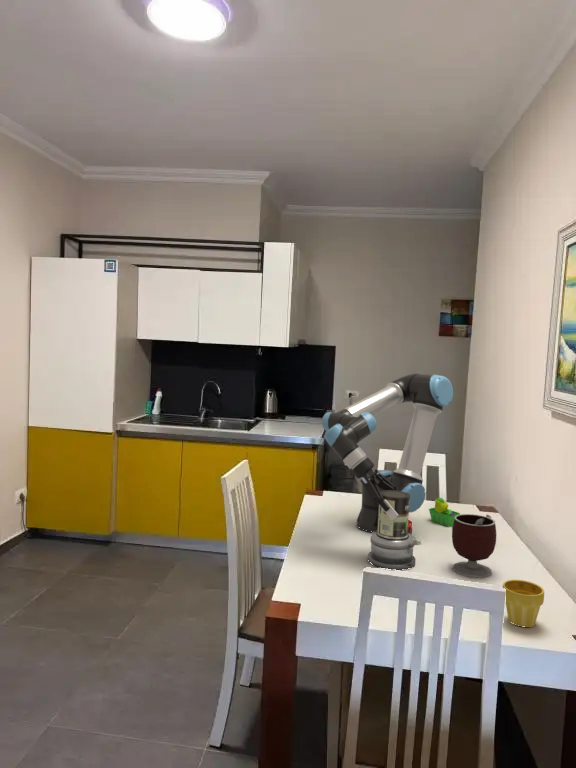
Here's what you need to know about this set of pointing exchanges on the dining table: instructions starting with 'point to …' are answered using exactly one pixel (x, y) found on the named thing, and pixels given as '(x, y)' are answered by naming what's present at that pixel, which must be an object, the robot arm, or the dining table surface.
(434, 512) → the fruit basket
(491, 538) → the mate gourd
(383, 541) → the cylinder
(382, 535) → the coffee can
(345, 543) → the dining table surface
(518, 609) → the plant pot
